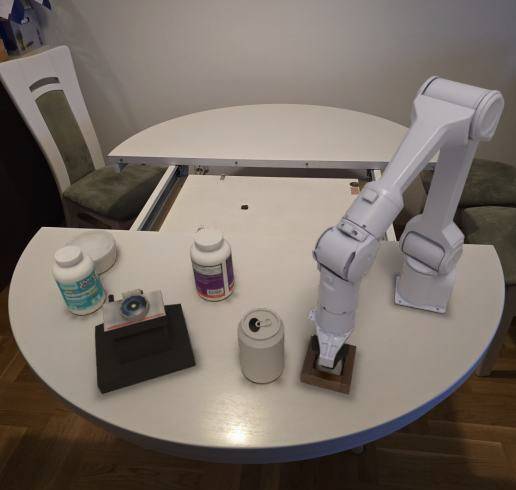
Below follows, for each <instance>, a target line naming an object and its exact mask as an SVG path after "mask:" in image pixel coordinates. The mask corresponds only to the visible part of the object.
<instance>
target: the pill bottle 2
mask: <svg viewBox="0 0 516 490" xmlns="http://www.w3.org/2000/svg"><path fill="white" fill-rule="evenodd" d="M189 256H190V262H191V267H192V272H193V278H194V283H195V289H196V292H197V294H198V296H200V297H201V298H203V299H204V300H206V301H211V302H217V301H222V300H224V299H226V298H228V297H229V296H230V295H231V294H232V293H233V292H234V289H235V286H236V285H235V274H234V264H233V254H232V246H231V244H230V242H229V241H228V240H227V239H226V238H225V237H224V233H223V231H222V230H221V229H219V228H217V227H211V226H210V227H204V228H200V229H199V230H198V231H196V232H195V234H194V235H193V243H192V244H191V246H190V249H189Z"/></svg>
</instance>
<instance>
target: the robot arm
mask: <svg viewBox="0 0 516 490" xmlns="http://www.w3.org/2000/svg"><path fill="white" fill-rule="evenodd" d="M504 107H505V99H504V96H503V94H502V93H501V91H499V90H496V89H493V90H491V89H488V88H483V87H479V86H475V85H471V84H467V83H463V82H458V81H455V80H450V79H446V78H442V77H441V76H438V75H432V76H430V77H429V78H427V79H426V80H425V81H424V82H423V83H422V85H421V86H420V87H419V88H418V90H417V92H416V95H415V97H414V99H413V102H412V106H411V110H410V124H411V125H410V126H409V128H408V130H407V131H406V133H405V135H404V137H403V138H402V140H401V141H400V144H399V145H398V147H397V148H396V150H395V152H394V153H393V155H392V157H391V159H390V160H389V162H388V164H387V166H386V167H385V169H384V170H383V172H382V174H381V176H380V177H379V179H376V180H372V181H369V182H366V183H365V185H363V187H362V189H361V190H360V192H359V193H358V194H357V196H356V197H355V199H354V200H353V201H352V203H351V204H350V206H349V207H348V209H347V210H346V211H345V213H344V214H343V216H342V217H341V218H340V219H339V221H338V223H337V224H336V225H335V226H329V227H328V228H326V229H325V230H323V231H322V233H320V235H319V236H318V238H317V239H316V242H315V245H314V248H313V249H312V251H311V256H312V259H313V260H314V261H315V262H316V270H317V271H318V272H319V282H318V293H317V296H318V297H317V303H316V304H317V306H316V309H310V310H309V313H308V316H307V317H308V319H307V320H308V322H310V323H313V324H314V325H315V331H316V334H313V335H312V336H313V338H312V342H311V347H312V350H313V351H314V352H315V353H316V354H317V355H316V356H317V358H318V357H319V365H321V366H322V367H324V368H328V369H332V370H334V369H335V367H336V366H337V364H338V362H339V361H340V360H341V361H342V360H344V359H343V358H346V357H347V355H348V353H349V347H350V345H351V344H350V345H347V344H348V343H346V342H347V340H348V339H349V337H350V336H351V335H352V333H353V332H354V330H355V327H356V314H357V309H358V304H359V303H358V302H359V299H360V291H361V286H362V281H363V278H364V277H365V275H366V274H368V271H369V270H370V269H371V268H372V266H373V265H374V263H375V259H376V257H377V254H378V251H379V250H380V248H381V246H382V245H381V243H380V241H381V240H382V238H383V237H384V235H385V234H386V233H387V232H388V230H389V229H390V227H391V226H392V224H393V223H394V221H395V220H396V218H397V217H398V215H399V214H400V213H401V211H402V210H403V208H404V206H405V204H404V197H403V193H405V191H406V190H407V189H408V188H409V187H410V186H411V184H412V183H413V181H414V180H415V179H416V178H417V177H419V174H420V173H421V172H422V171H423V170H424V169H425V167H426V166H427V165H428V164H429V163H430V161H432V159H433V158H434V157H435V155H437V154H438V152H439V154H438V157H437V160H436V164H435V167H434V171H433V175H432V179H431V183H430V186H429V189H428V193H427V197H426V201H425V205H424V208H423V212H422V213H420V214H417V215H414V216H413V217H412V218H411V219H409V220H408V222H406V224H405V228H404V230H403V231H402V233H401V236H400V237H399V241H398V249H399V251H400V252H402V258H403V259H404V262H403V266H402V270H401V274H400V275H397V276H396V277H395V290H394V291H395V292H394V304H396V305H398V306H399V305H400V306H404V307H409V308H415V309H419V310H424V311H429V312H433V313H439V314H446V311H447V306H448V304H449V301H450V298H451V297H452V293H453V291H454V288H455V284H456V280H457V279H456V278H457V264H458V262H459V261H460V259H461V257H462V255H463V251H464V250H463V249H464V247H463V246H464V242H465V237H466V236H465V234H464V233H463V232H462V230H461V229H460V228H459V227H458V225H457V224H456V223H455V222H454V218H455V214H456V212H457V208H458V206H459V203H460V200H461V196H462V193H463V191H464V187H465V184H466V181H467V180H468V175H469V173H470V169H471V166H472V163H473V160H474V157H475V155H476V151H477V149H478V146H479V144H480V142H491V141H492V139H493V136H494V135H495V133H496V130H497V127H498V125H499V121H500V118H501V116H502V113H503V111H504ZM344 343H345V344H344Z"/></svg>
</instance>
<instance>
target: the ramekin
mask: <svg viewBox="0 0 516 490" xmlns="http://www.w3.org/2000/svg"><path fill="white" fill-rule="evenodd" d="M66 246H77V247H79V248H80V249H81V252H82V253H84V254H87V255H89V256H90V257H91V258H92V260H93V262H94V265H95V267H96V270H97V273H98V275H100V274H103V273H104V272H106V271H108V270H109V269H110V268H111V267H112V266H113V265H114V264H115V263H116V259H117V248H116V240H115V237H114V235H113V233H111V232H109V231H106V230H101V229H94V230H93V229H92V230H88V231H84V232H81V233H79V234H76V235H75V236H73V237H72V238H71V239H69V240H68V241H67V242H66V244H65V245H64V247H66Z"/></svg>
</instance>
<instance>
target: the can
mask: <svg viewBox="0 0 516 490" xmlns="http://www.w3.org/2000/svg"><path fill="white" fill-rule="evenodd" d="M237 341H238V342H237V343H238V351H239V360H240V361H239V362H240V367H241V372H242V374H243V375H244V376H245V378H246V379H248V380H249V381H251V382H254V383H257V384H267V383H271V382H273V381H275V380H277V379H278V378H279V377H280V376H281V374H282V373H283V371H284V368H285V324H284V322H283V320H282V319H281V317H280V315H278V314H277V312H276V311H274V310H272V309H270V308H268V307H256V308H255V307H254V308H252V309H250V310H248V311H247V312H245V314H243V316H242V318H241V319H240V320H239V323H238V324H237Z"/></svg>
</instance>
